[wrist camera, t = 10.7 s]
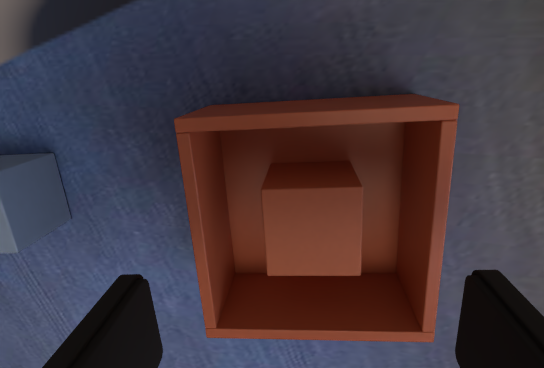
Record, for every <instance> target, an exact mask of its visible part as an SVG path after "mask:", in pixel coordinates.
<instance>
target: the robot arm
mask: <svg viewBox="0 0 544 368" xmlns="http://www.w3.org/2000/svg"><path fill="white" fill-rule="evenodd" d="M162 353H163V348H162V343H161V338H160V333H159V329H158V324H157V319H156V315H155V310H154V305H153V301H152V296H151V292H150V287H149V283H148V281H147V280H146V279H143V277H142V275H140V274H133V275H120V276H119V277H118V278H117V279H116V281H115V282H114V283H113V284H112V285H111V286H110V288H109V289H108V290H107V291H106V292H105V294H104V295H103V296H102V297H101V298H100V300H99V301H98V302H97V303H96V304H95V306H94V307H93V308H92V309H91V310H90V311H89V313H88V314H87V315H86V316H85V317H84V319H83V320H82V321H81V322H80V323H79V325H78V326H77V327H76V328H75V329H74V330H73V332H72V333H71V334H70V335H69V336H68V338H67V339H66V340H65V341H64V342H63V344H62V345H61V346H60V347H59V348H58V349H57V351H56V352H55V353H54V354H53V355H52V357H51V358H50V359H49V360H48V361H47V363H46V364H45V365H44V366H43V367H42V368H158V366H159V363H160V361H161V358H162ZM455 354H456V359H457V362H458V364H459V366H460V368H544V317H543V316H542V314H541V313H540V312H539V311H538V310H537V309H536V308H535V307H534V306H533V305H532V304H531V303H530V302H529V301H528V300H527V299H526V298H525V297H524V296H523V295H522V294H521V293H520V292H519V291H518V290H517V289H516V288H515V287H514V286H513V285H512V284H511V283H510V282H509V281H508V279H507V278H506V277H505V276H504V275H503V274H502V273H501V272H499V271H498V270H475V271H473V272H472V275H468V276H467V277H466V280H465V286H464V293H463V300H462V306H461V313H460V320H459V327H458V334H457V341H456V348H455Z"/></svg>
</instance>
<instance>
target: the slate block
mask: <svg viewBox="0 0 544 368" xmlns="http://www.w3.org/2000/svg"><path fill="white" fill-rule="evenodd" d="M70 219H71V215H70V211H69V208H68V204H67V200H66V196H65V193H64V189H63V185H62V182H61V178H60V174H59V170H58V167H57V163H56V159H55V156H54V153H41V154H17V155H0V253H19V252H21V251H22V250H24V249H25V248H27V247H28V246H30V245H31V244H33V243H35V242H36V241H38V240H39V239H41V238H42V237H44V236H45V235H47V234H49V233H50V232H52V231H53V230H55V229H56V228H58V227H60V226H61V225H63V224H64V223H66V222H67V221H69V220H70Z"/></svg>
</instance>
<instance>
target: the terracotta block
mask: <svg viewBox="0 0 544 368" xmlns="http://www.w3.org/2000/svg"><path fill="white" fill-rule="evenodd" d="M261 204H262V217H263V230H264V243H265V256H266V269H267V275H268V276H360V275H361V257H362V215H363V186H362V184H361V182H360V180H359V178H358V176H357V174H356V172H355V170H354V168H353V166H352V164H351V162H350V161H324V162H296V163H271V164H270V166H269V169H268V172H267V174H266V177H265V180H264V182H263V185H262V188H261Z"/></svg>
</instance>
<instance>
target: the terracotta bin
mask: <svg viewBox="0 0 544 368" xmlns="http://www.w3.org/2000/svg"><path fill="white" fill-rule="evenodd" d="M458 112H459V104H456V103H452V102H447V101H443V100H439V99H434V98H430V97H426V96H421V95H417V94H402V95H384V96H366V97H348V98H330V99H312V100H294V101H276V102H258V103H240V104H222V105H209V106H207V107H204V108H201V109H199V110H196V111H193V112H191V113H188V114H186V115H183V116H180V117H178V118H175V119H174V124H175V131H176V137H177V143H178V150H179V157H180V163H181V170H182V176H183V183H184V190H185V196H186V203H187V209H188V216H189V223H190V229H191V236H192V243H193V249H194V256H195V262H196V269H197V276H198V282H199V289H200V295H201V302H202V309H203V315H204V322H205V327H206V336H207V338H248V339H298V340H347V341H397V342H434V334H435V333H434V331H435V323H436V314H437V305H438V295H439V286H440V277H441V268H442V258H443V249H444V240H445V231H446V222H447V212H448V203H449V194H450V185H451V175H452V166H453V157H454V148H455V139H456V129H457V120H456V119H458ZM324 161H350V162H351V164H352V166H353V168H354V170H355V172H356V174H357V176H358V178H359V180H360V182H361V184H362V186H363V215H362V257H361V275H360V276H268V275H267V269H266V256H265V243H264V230H263V217H262V204H261V188H262V185H263V182H264V180H265V177H266V174H267V172H268V169H269V166H270V164H271V163H296V162H324Z"/></svg>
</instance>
